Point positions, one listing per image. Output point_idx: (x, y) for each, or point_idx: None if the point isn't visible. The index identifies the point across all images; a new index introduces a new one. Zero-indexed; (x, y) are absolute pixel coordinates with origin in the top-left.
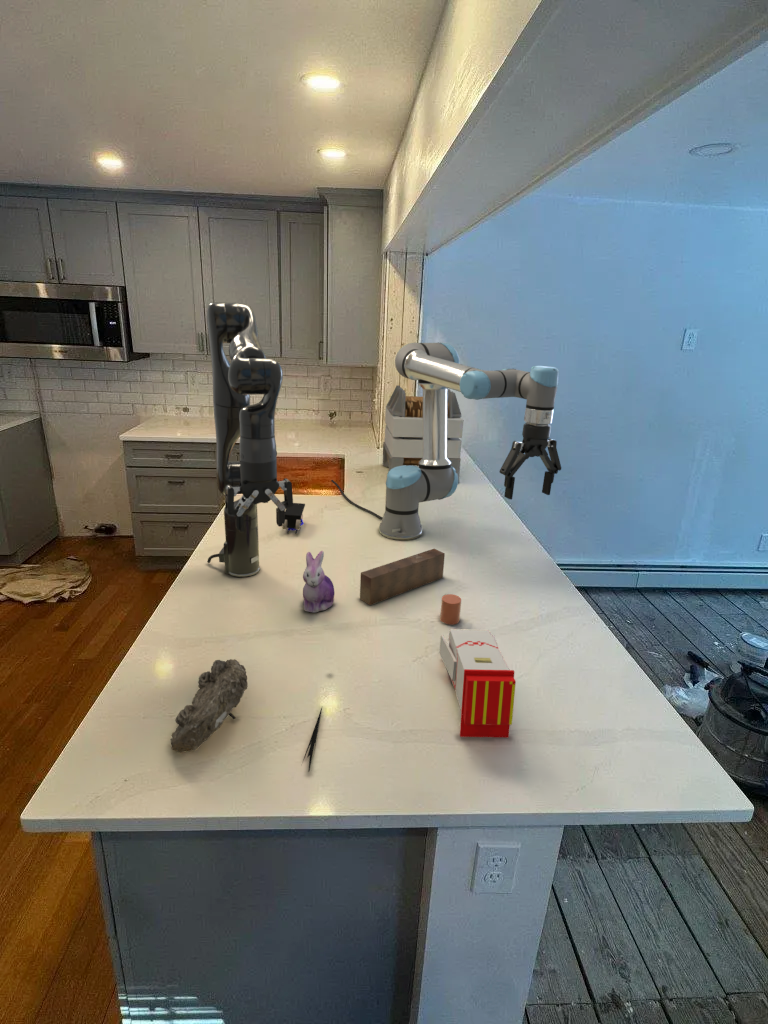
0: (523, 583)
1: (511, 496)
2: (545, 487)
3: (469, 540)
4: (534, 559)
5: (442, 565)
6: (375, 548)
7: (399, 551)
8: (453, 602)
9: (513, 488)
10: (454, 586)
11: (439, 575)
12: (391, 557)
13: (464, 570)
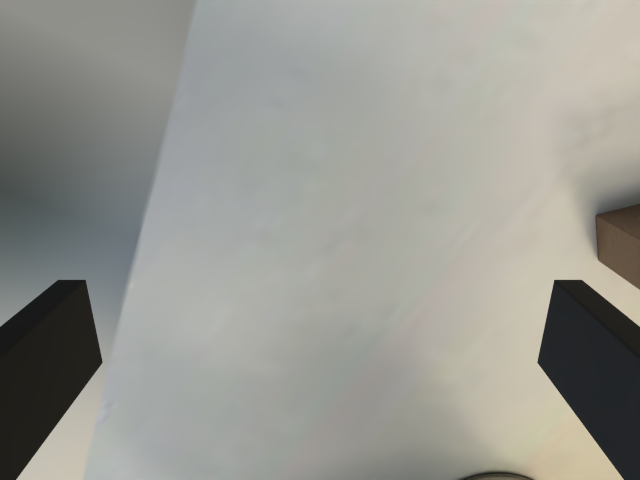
0: (350, 72)
1: (585, 295)
2: (59, 366)
3: (315, 422)
4: (178, 232)
5: (635, 230)
6: None
7: None
8: None
9: (633, 348)
10: (605, 144)
11: (622, 215)
12: None
13: (484, 239)
